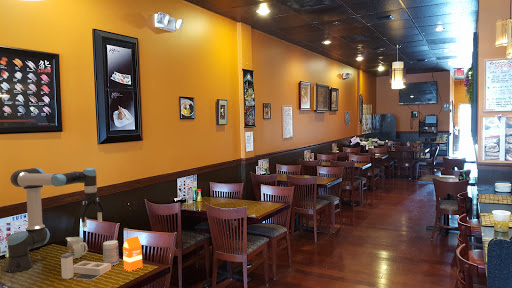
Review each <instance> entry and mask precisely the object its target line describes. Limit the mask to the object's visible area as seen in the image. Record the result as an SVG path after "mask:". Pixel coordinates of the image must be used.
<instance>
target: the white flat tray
mask: <svg viewBox="0 0 512 288" xmlns="http://www.w3.org/2000/svg"><path fill="white" fill-rule="evenodd" d="M109 270H110V271H112V266H111V263H104V262H99V261H88V260H82V261H80V262H78V263H75V264H73V274H80V275H81V274H90V275H100V276H102V275H104V274H106V273H107V272H110V271H109Z"/></svg>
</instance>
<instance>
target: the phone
mask: <svg viewBox="0 0 512 288" xmlns="http://www.w3.org/2000/svg"><path fill="white" fill-rule="evenodd" d="M100 276H101V275H91V274H81V273H80V274H79V275H76V276H74V277H73V279H74V280H82V281H93V280H95V279H97V278H99V277H100Z"/></svg>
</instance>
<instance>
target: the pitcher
mask: <svg viewBox="0 0 512 288" xmlns="http://www.w3.org/2000/svg"><path fill="white" fill-rule="evenodd" d="M65 240H67V241H66V242H67V245H66V251H67V252H66V253H72V254H73V260H76V259H75V258H78V259H81V258H82V256H84V255H85V254H87V253H88V245H87V243H86V242H84V237H81V236H73V237H72V236H70V237H69V236H68V237H65ZM80 257H81V258H80Z"/></svg>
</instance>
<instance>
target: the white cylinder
mask: <svg viewBox="0 0 512 288" xmlns="http://www.w3.org/2000/svg"><path fill="white" fill-rule="evenodd" d="M73 260H74V259H73V254H72V253H68V252H66V253H64V254H60V266H61V267H60V268H61V279H66V280H67V279H68V280H69V279H71V278H74V277H75V276H74V275H75V273H73V265H74V261H73Z"/></svg>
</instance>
